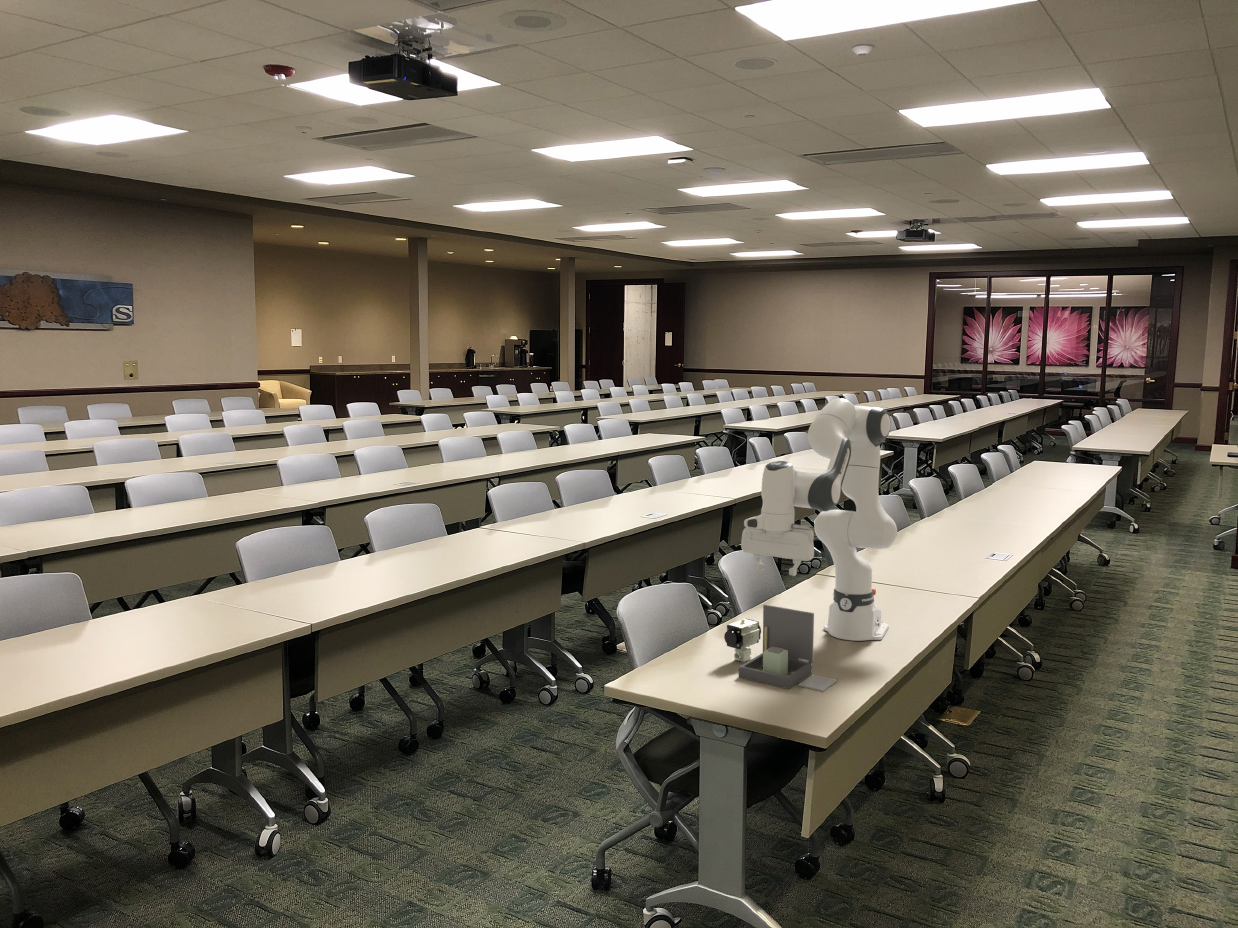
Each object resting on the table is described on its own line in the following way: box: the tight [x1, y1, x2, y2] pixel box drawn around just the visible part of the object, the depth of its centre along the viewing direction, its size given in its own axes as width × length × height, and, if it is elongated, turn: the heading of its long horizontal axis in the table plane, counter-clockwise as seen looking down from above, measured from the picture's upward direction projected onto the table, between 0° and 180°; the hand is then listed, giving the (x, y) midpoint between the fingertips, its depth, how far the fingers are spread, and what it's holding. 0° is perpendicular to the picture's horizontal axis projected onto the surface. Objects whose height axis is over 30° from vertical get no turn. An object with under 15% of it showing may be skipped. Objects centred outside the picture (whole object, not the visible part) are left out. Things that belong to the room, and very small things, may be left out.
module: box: [762, 647, 789, 676], centre depth 245 cm, size 5×5×8 cm
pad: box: [797, 674, 838, 693], centre depth 239 cm, size 9×7×1 cm
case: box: [738, 604, 815, 690], centre depth 245 cm, size 15×15×17 cm
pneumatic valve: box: [723, 618, 762, 663], centre depth 257 cm, size 6×12×12 cm, turn 135°
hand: (776, 572), depth 242 cm, fingers open, 8 cm apart
